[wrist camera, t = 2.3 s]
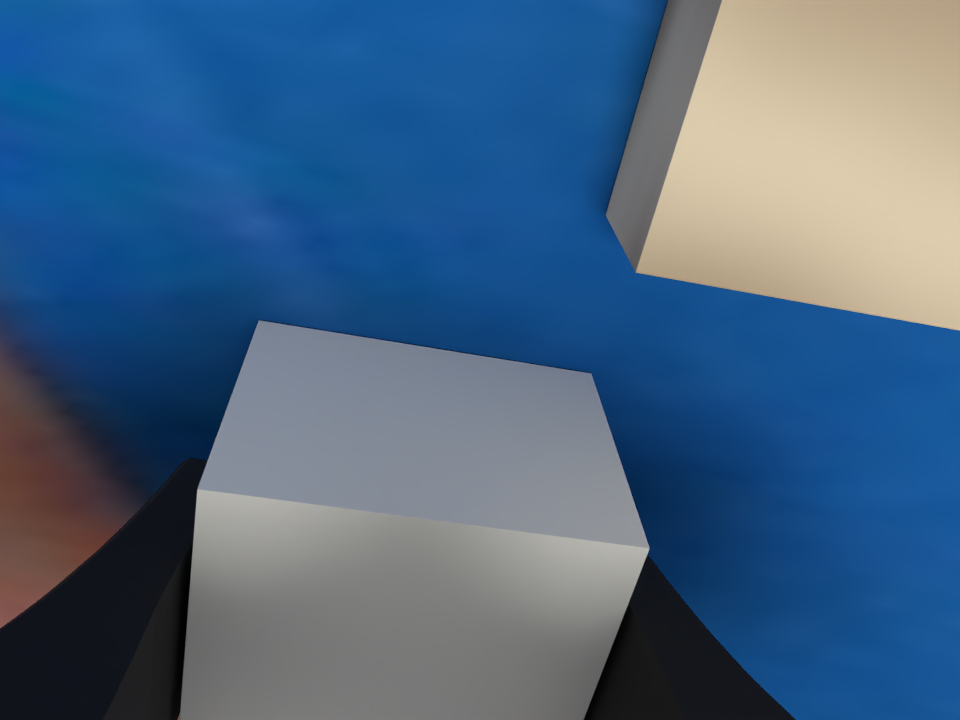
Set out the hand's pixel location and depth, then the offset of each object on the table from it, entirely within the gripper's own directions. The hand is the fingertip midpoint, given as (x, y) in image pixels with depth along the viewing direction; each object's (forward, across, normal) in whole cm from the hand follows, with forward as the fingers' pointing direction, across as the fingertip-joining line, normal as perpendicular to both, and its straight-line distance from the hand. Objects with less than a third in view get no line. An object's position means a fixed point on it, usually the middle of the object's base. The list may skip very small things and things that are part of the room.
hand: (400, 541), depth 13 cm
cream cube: (+1, 0, 0) cm, 1 cm away
